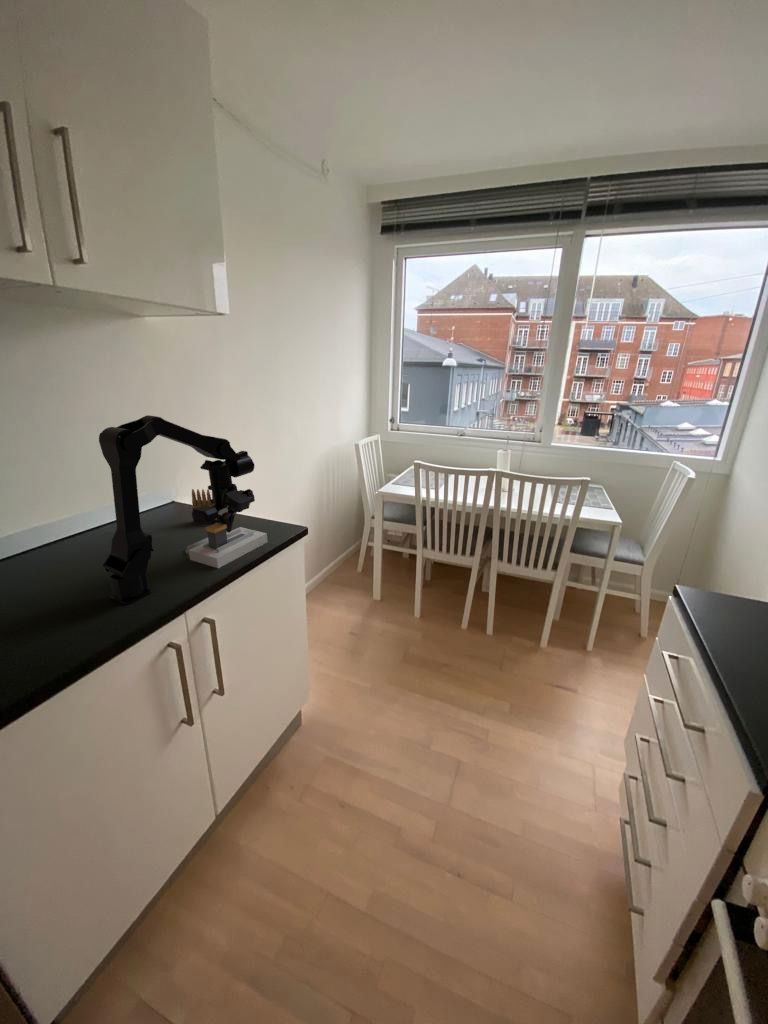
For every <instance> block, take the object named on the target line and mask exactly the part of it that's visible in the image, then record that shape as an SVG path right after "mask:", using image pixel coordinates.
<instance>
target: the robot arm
mask: <svg viewBox="0 0 768 1024" xmlns="http://www.w3.org/2000/svg"><path fill="white" fill-rule="evenodd" d="M98 435H99V436H98V443H99V446H100V450H101V453H102V455H103V457H104V459H105V461H106V463H107V464H108V466H109V468H110V474H111V483H112V484H111V485H112V492H113V494H112V495H113V501H114V512H115V520H116V521H115V522H116V530H115V533H114V535H113V537H112V538H111V548H110V549H111V550H110V553H109V555H108V556H107V558H106V559H105V561H104V563H103V564H102V568H103V570H105V572H106V573H110V574H111V575H110V576H109V581H110V585H111V590H112V594H111V595H110V596H109V598H110V599H111V600H114V601H115V602H116V601H117V602H119V603H122V604H123V605H130V604H132V603H134V602H136V601H138V600H139V599H142V598H143V597H145V596H147V595H149V594H151V593H152V589H149V584H148V578H147V570H148V565H149V560H151V559H152V558H151V557H152V552H154V548H153V545H152V544H153V537H152V536H153V535H152V534H149V533H147V532H144V531H143V530H142V526H141V516H140V515H141V514H140V513H141V512H140V503H139V492H138V491H139V490H138V483H137V482H138V479H137V466H138V465H139V463H140V460H141V457H142V449H143V447H144V446H147V445H148V444H150V443H151V442H152V441H153V440H154V439H155V438H156V437H157V436H160V437H161V438H162V437H163V438H166V439H168V440H171V441H174V442H176V443H179V444H182V445H185V446H188V447H190V448H192V449H193V450H195V451H196V452H197V453H199V454H201V455H202V456H204V457H206V458H212V459H215V460H213V461H212V460H208V459H205V460H204V462H203V464H201V466H200V469H201V470H205V471H208V477H209V482H210V483H209V484H210V485H207V490H209V491H211V496H212V495H213V499H212V498H211V500H210V502H211V503H212V504H214V506H212V507H210V506H205V505H202V506H200V507H197V508H195V509H193V508H192V511H191V517H192V520H193V519H196V520H200V521H204V522H209V521H212V520H214V519H216V518H217V519H218V520H219V522H220V523H222V524H226V525H227V528H226V532H231V531H232V529H233V523H234V520H235V518H236V517H235V516H236V514H237V513H241V512H244V511H245V510H248V509H250V505H251V503H253V502H255V500H256V499H255V495H254V491H253V490H252V489H250V488H247V489H245V490H242V489H239V490H238V487H237V484H236V483H233V480H232V478H238V477H242V476H245V475H247V474H250V473H253V472H254V470H255V462H254V461H253V459H252V457H251V456H250V455H249V453H248V451H246V450H240V451H238V452H236V451H235V450H234V448H232V446H231V442H230V441H229V440H228V439H226V438H220V437H218V436H217V437H216V436H211V435H204V434H201V433H198V432H197V431H194V430H191V429H189V428H186V427H184V426H181V425H178V424H176V423H173V422H170V421H168V420H166V419H164V418H163V417H161V416H155V415H149V414H148V415H145V416H142V417H141V418H139V419H135V420H133V421H129V422H126V423H123V424H120V425H119V426H116V427H115V426H109V427H106V428H104V429H103V430H102V431H101V432H100V433H99V434H98Z"/></svg>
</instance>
